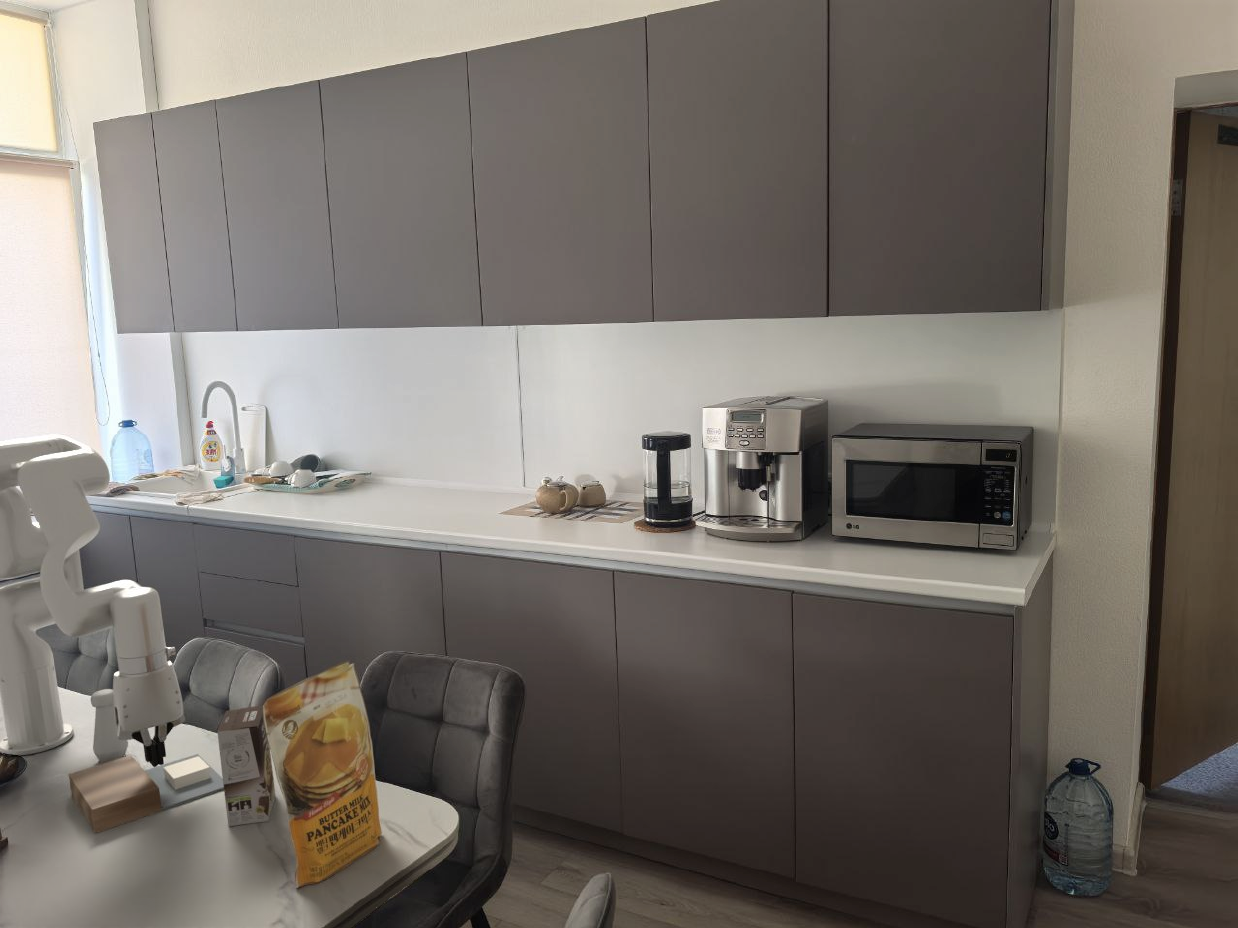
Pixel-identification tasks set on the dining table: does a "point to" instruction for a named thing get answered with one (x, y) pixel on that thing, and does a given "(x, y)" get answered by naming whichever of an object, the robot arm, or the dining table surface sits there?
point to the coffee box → (246, 766)
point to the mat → (186, 793)
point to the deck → (114, 793)
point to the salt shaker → (106, 728)
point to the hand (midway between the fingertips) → (156, 762)
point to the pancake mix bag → (325, 770)
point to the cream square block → (187, 772)
